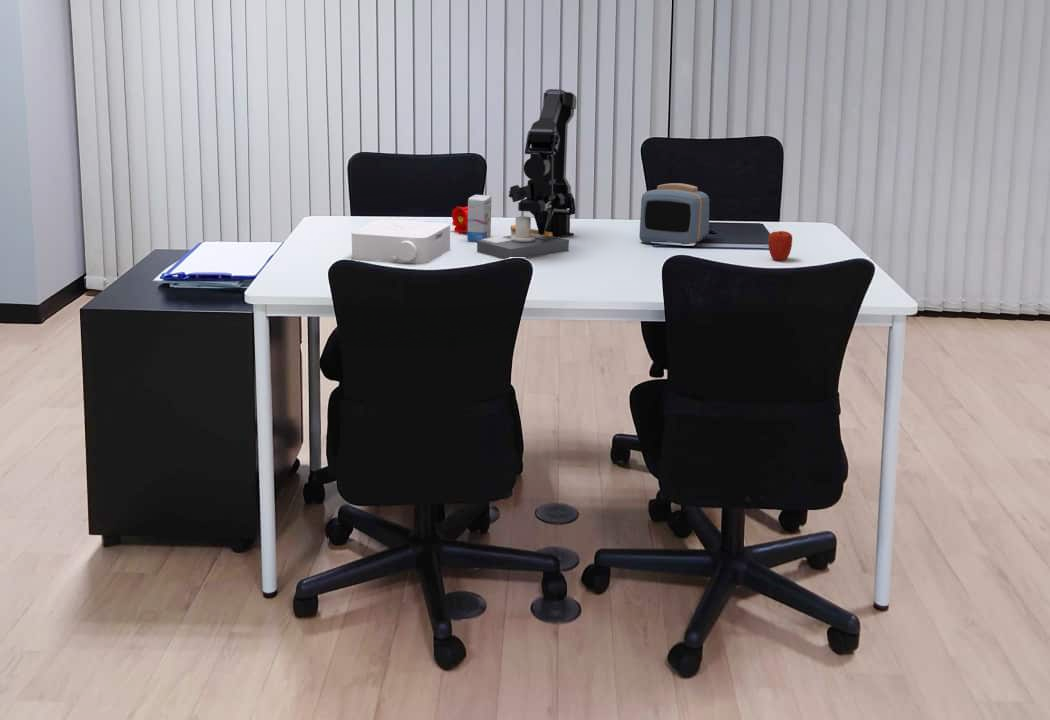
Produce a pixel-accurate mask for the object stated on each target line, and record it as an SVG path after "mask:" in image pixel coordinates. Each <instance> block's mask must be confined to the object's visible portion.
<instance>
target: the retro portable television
mask: <svg viewBox="0 0 1050 720" xmlns="http://www.w3.org/2000/svg"><path fill="white" fill-rule="evenodd" d="M640 202H641V203H640V219H639V220H640V221H639V240H640V241H641V242H642V243H645V244H647V245H652V244H651V241H652V240H657V241H666V242H675V243H681V244H690V243H694V242H696V241H698V240H699V239H700V238H702V237H703V236H705V235H706V234H708V235H709V232H710V198H709V196H708V194H707V193H705V192H703V191H699V190H698V186H695V185H692V184H687V183H681V182H680V183H679V182H678V183H675V182H674V183H673V182H671V183H664V184H663V183H662V184H659V185H657V187H656V189H652V190H651V189H650V190H648V191H645V192H644V193H643V194H642V196H641V201H640Z"/></svg>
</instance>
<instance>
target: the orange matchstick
mask: <svg viewBox="0 0 1050 720" xmlns="http://www.w3.org/2000/svg"><path fill="white" fill-rule="evenodd" d="M511 230H515V231H516V224H512V225H510V231H511ZM531 233H534V234H539V232H538V229H534V228H531ZM543 235H545V236H552V233H551V232H546V231H545V232H544V234H543Z"/></svg>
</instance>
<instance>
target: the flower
mask: <svg viewBox="0 0 1050 720" xmlns="http://www.w3.org/2000/svg"><path fill="white" fill-rule="evenodd" d="M451 218H452V222H451V226H453V227H454V228H453V231H454V232H455V233H456V234H461V233H462V232H463V234H464V233H467V234H468V205H467V206H464V207H462V206H460V205H459V206H458V205H457V206H456V207H455V208H453V209H452V213H451Z"/></svg>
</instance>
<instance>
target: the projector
mask: <svg viewBox="0 0 1050 720" xmlns="http://www.w3.org/2000/svg"><path fill="white" fill-rule="evenodd" d="M450 250H451V224H449V223H446V222H445V223H444V222H428V221H415V220H413V221H412V220H397V219H378V220H374V221H373V222H370V223H368V224H366V225H364V226H362V227H359V228H358V229H356V230H353V231H352V232H351V254H352V255H351V256H352V259H353V260H361V261H371V260H373V261H374V262H376V260H380V261H379V262H386V261H389V263H391V262H392V263H402V264H417V265H421V264H429V263H430V262H432V261H434V260H435V259H437V258H439V257H440V256H442V255H443V254H445V253H448V252H449V251H450ZM366 259H367V260H366Z"/></svg>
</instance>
